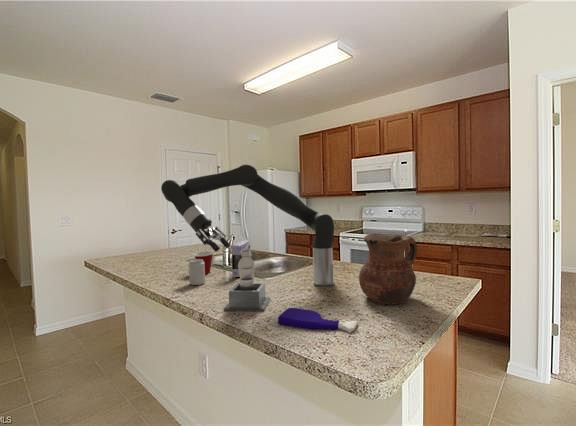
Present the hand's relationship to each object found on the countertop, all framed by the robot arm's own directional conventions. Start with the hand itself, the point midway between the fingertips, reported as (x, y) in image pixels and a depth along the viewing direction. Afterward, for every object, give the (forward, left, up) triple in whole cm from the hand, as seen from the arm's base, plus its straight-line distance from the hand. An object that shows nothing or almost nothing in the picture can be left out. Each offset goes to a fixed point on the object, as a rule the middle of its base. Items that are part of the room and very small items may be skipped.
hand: (223, 248), depth 119 cm
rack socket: (-9, +2, -22) cm, 24 cm away
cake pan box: (+7, -47, -22) cm, 53 cm away
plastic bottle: (-9, +1, -21) cm, 23 cm away
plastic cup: (+29, -48, -22) cm, 60 cm away
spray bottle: (-36, +18, -23) cm, 46 cm away
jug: (-63, -7, -22) cm, 68 cm away
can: (+24, -27, -22) cm, 42 cm away
